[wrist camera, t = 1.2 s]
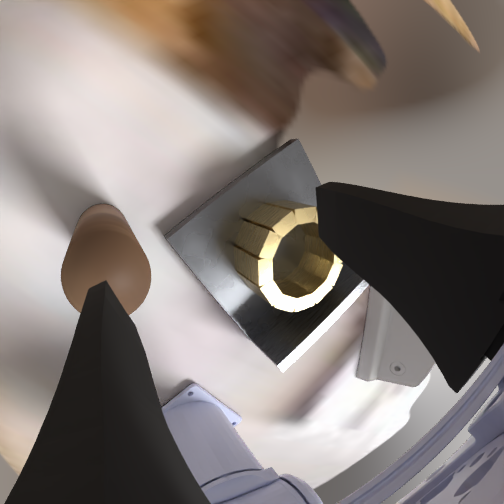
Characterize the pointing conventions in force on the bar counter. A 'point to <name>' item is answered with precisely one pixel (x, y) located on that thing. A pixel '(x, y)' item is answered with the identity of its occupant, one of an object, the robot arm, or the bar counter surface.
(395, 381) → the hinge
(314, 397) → the bar counter surface
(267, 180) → the cup bracket
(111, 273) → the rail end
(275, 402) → the bar counter surface
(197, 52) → the bar counter surface
